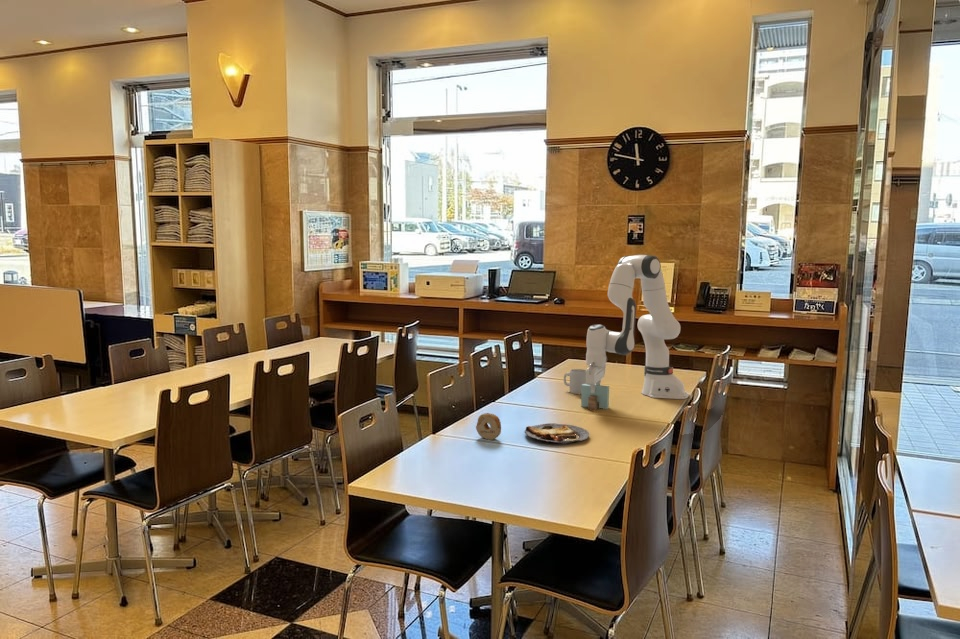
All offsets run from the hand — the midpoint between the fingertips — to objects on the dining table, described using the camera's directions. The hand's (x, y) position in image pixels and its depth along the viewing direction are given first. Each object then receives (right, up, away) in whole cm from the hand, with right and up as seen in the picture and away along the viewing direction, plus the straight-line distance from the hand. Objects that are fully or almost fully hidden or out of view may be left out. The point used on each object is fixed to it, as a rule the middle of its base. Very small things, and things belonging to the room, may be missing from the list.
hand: (595, 390), depth 314 cm
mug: (-5, -4, +31) cm, 32 cm away
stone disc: (-49, -14, -47) cm, 69 cm away
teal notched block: (0, -8, +1) cm, 8 cm away
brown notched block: (0, -8, +1) cm, 8 cm away
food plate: (-23, -14, -44) cm, 52 cm away
